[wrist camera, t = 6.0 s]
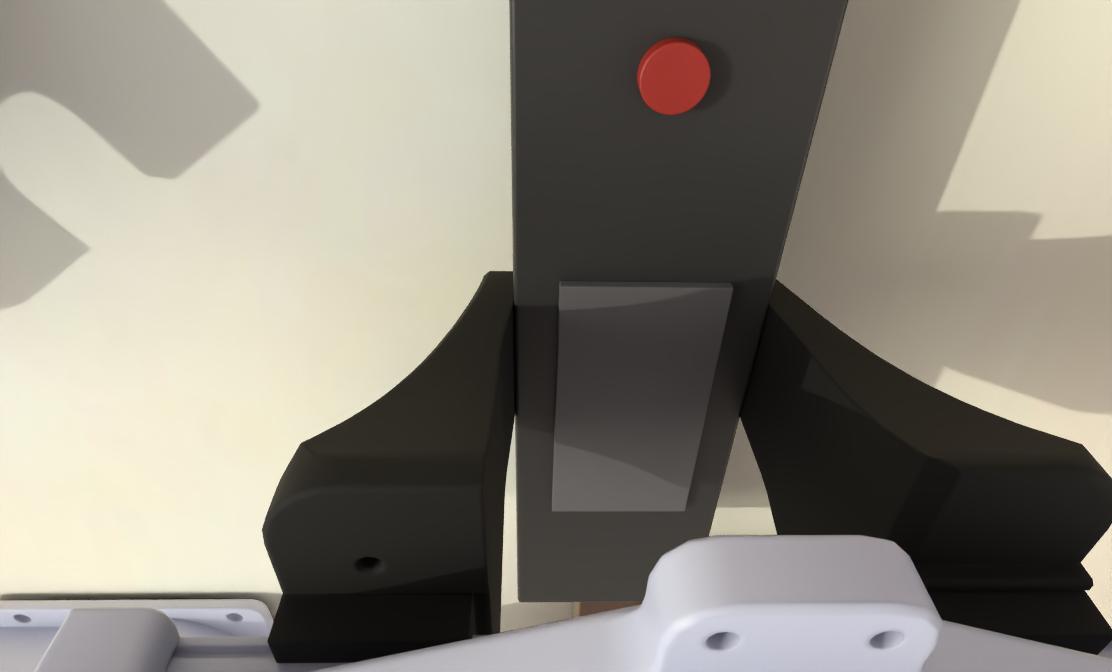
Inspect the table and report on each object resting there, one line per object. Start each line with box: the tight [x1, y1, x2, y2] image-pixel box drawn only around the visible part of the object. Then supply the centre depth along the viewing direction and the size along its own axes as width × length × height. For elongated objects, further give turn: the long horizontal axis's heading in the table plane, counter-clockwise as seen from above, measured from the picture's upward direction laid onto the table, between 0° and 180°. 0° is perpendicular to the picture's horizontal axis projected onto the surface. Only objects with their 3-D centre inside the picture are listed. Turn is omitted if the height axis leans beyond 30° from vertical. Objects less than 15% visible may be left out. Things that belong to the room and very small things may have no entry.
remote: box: [509, 0, 848, 602], centre depth 14 cm, size 16×5×4 cm, turn 178°
